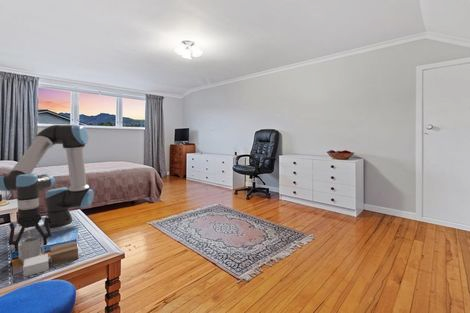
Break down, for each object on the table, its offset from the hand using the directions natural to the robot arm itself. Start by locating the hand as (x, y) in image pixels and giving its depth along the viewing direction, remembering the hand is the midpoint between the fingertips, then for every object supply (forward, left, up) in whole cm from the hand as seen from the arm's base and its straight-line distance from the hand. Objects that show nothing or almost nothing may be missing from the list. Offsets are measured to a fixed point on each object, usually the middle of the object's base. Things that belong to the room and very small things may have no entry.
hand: (31, 254), depth 110 cm
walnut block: (+9, +12, -2) cm, 15 cm away
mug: (0, 0, -2) cm, 2 cm away
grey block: (+13, +2, -2) cm, 13 cm away
